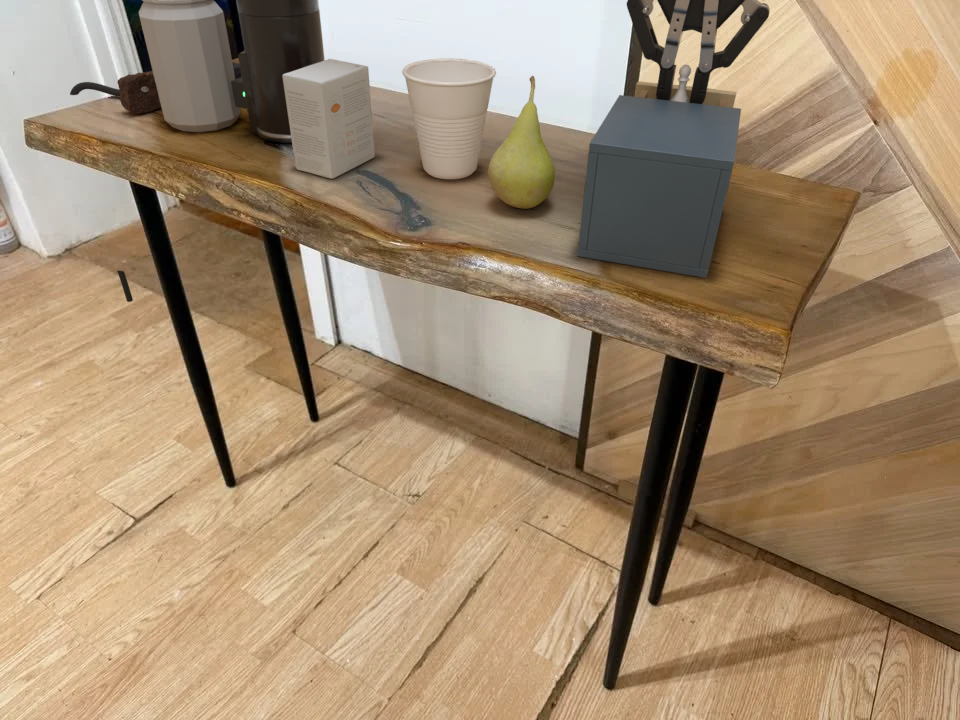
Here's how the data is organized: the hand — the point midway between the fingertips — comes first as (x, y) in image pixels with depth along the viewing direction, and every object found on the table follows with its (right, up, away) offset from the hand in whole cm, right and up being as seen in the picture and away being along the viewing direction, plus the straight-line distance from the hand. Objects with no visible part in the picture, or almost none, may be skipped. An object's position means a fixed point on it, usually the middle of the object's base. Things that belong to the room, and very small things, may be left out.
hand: (679, 105), depth 72 cm
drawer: (0, -6, +6) cm, 8 cm away
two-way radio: (-55, +16, +31) cm, 65 cm away
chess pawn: (0, 0, 0) cm, 0 cm away
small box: (-37, -3, +10) cm, 39 cm away
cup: (-24, -4, +9) cm, 26 cm away
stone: (-65, +8, +25) cm, 71 cm away
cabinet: (-4, -13, -3) cm, 14 cm away
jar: (-57, +5, +21) cm, 61 cm away
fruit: (-16, -10, +2) cm, 19 cm away
